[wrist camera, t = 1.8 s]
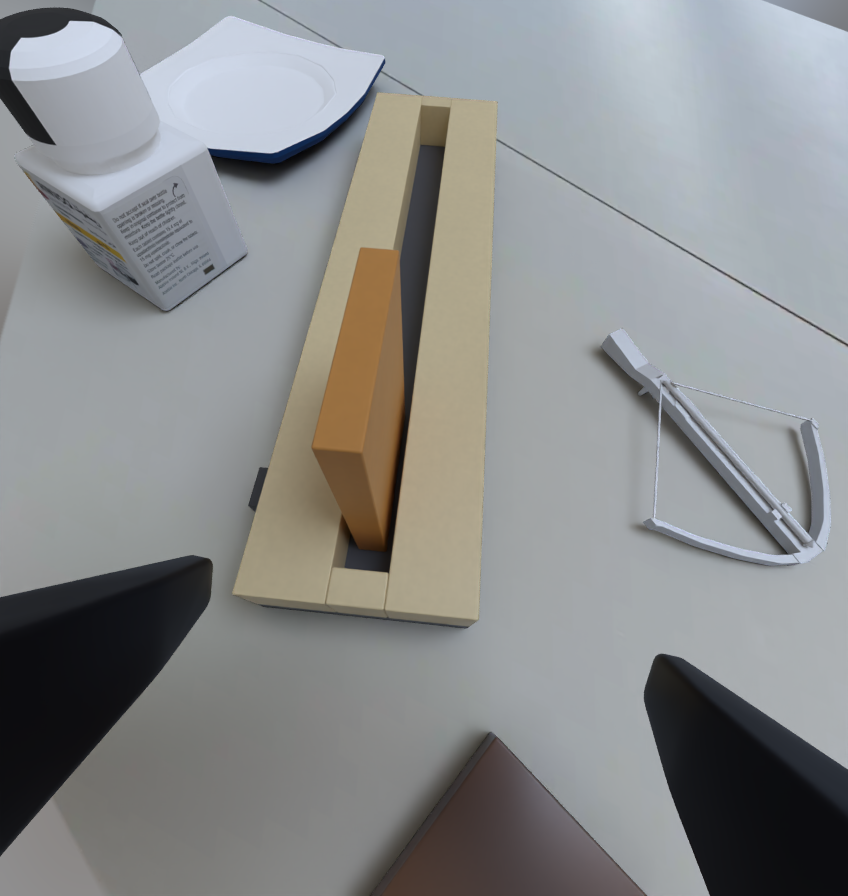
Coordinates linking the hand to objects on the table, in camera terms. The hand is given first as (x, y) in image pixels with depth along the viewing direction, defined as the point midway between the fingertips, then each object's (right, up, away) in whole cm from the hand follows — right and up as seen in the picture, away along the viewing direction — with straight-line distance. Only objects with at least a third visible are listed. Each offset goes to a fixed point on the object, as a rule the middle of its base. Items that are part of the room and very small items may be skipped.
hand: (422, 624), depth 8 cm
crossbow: (+16, +4, +17) cm, 24 cm away
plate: (-16, +36, +33) cm, 51 cm away
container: (-18, +17, +23) cm, 34 cm away
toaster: (-1, +13, +21) cm, 25 cm away
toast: (-2, +2, +14) cm, 15 cm away
